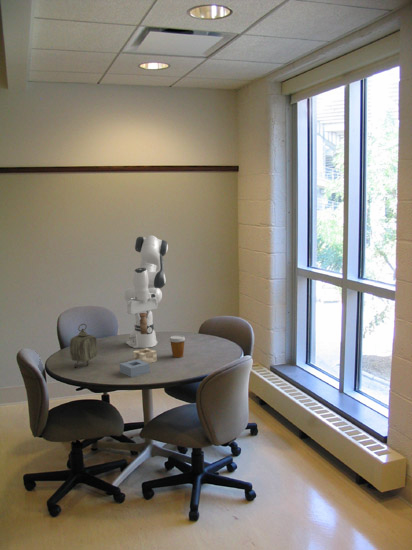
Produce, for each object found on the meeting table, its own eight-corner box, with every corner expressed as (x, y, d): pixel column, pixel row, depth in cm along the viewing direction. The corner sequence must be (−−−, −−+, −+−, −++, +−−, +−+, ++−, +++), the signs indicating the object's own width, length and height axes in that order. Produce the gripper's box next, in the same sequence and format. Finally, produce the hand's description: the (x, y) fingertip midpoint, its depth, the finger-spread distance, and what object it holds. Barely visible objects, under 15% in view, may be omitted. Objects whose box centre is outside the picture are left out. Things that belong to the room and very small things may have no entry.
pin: (139, 333, 335) (138, 313, 333) (145, 332, 336) (144, 312, 335) (141, 334, 331) (140, 314, 329) (148, 333, 333) (147, 313, 331)
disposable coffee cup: (183, 358, 338) (182, 339, 337) (168, 358, 340) (167, 338, 339) (187, 354, 348) (186, 335, 346) (172, 353, 350) (171, 335, 348)
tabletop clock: (87, 361, 340) (84, 320, 336) (99, 363, 335) (96, 321, 332) (71, 368, 327) (68, 326, 323) (83, 370, 323) (80, 327, 319)
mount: (133, 361, 337) (132, 351, 336) (147, 357, 343) (147, 348, 342) (142, 364, 329) (142, 354, 328) (156, 361, 335) (156, 351, 335)
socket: (120, 372, 316) (119, 363, 316) (138, 367, 324) (137, 359, 323) (131, 377, 307) (131, 368, 306) (149, 372, 315) (149, 363, 314)
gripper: (130, 299, 321) (132, 323, 323) (158, 293, 335) (159, 316, 337) (124, 298, 326) (125, 321, 328) (151, 292, 340) (153, 315, 342)
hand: (143, 319), depth 333 cm, fingers closed on pin, 4 cm apart
